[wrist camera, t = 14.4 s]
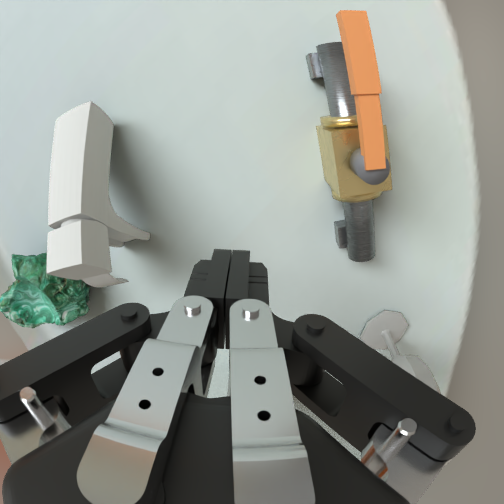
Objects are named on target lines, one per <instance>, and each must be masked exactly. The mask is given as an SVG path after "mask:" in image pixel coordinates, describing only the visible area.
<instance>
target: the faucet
mask: <svg viewBox="0 0 504 504" xmlns="http://www.w3.org/2000/svg"><path fill="white" fill-rule="evenodd" d="M113 129H114V124H113V122H112V121H111V119H110V118H109V117H108V115H107V114H106V113H105V112H104V111H103V110H102V109H101V108H99V107H98V106H97V105H96V104H94V103H93V102H92V101H90V102H87V103H84V104H82V105H79V106H77V107H75V108H73V109H71V110H69V111H68V112H66V113H64V114H63V115H61V116H60V117H59V118H58V119H56V123H55V130H54V138H53V146H52V156H51V167H50V182H49V208H48V226H50V227H52V228H54V229H55V230H53V231H51V232H48V240H47V273H46V274H49V275H53V276H57V277H61V278H67V279H73V280H80V279H81V280H83V281H84V282H85V283H87V284H89V285H91V286H93V287H106V286H110V285H115V284H120V283H125V282H129V281H128V280H126V279H122V278H114V277H112V276H111V275H110V274H109V273H110V272H112V268H111V259H110V250H109V246H112V247H122V246H123V245H124V242H127V241H131V240H135V239H140V240H149V239H150V233H148V232H145V231H142V230H140V229H138V228H136V227H134V226H132V225H131V224H129V223H128V222H126V221H125V220H123V219H122V218H121V217H119V216H118V215H117V214H116V213H115V211H114V209H113V207H112V205H111V202H110V198H109V173H110V159H111V148H112V138H113Z"/></svg>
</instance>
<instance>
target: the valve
mask: <svg viewBox="0 0 504 504" xmlns="http://www.w3.org/2000/svg"><path fill="white" fill-rule="evenodd" d="M316 48H317V53H310V54H308V55H307V56H306V60H307V64H308V69H309V73H310V78H311V79H315V78H323V79H324V84H325V89H326V94H327V99H328V105H329V110H330V115H329V116H324V117H321V118H320V120H321V125H320V126H316V129H317V135H318V140H319V146H320V152H321V158H322V164H323V171H324V178H325V180H326V182H327V183H328V184H329V185H330V186H331V189H332V197H333V198H334V199H336V200H338V201H342V202H343V206H344V215H345V220H341V221H335V222H334V226H335V235H336V242H337V244H338V246H339V248H346V247H347V248H348V257H349V259H351V260H353V261H356V262H365V261H369V260H371V259H373V258H374V256H375V236H374V217H373V202H372V200H373V199H375V198H377V197H379V196H380V195H381V193H382V191H387V190H392V181H391V168H390V172H389V175H388V177H387V179H386V180H385V181H384V182H382V183H380V184H378V185H370V184H368V183H366V182H365V181H363V180H362V179H361V178H360V177H358V176H357V175H356V174H355V173H354V172H353V171H352V170H351V167H350V157H351V155H352V153H353V152H354V151H355V150H356V149H358V148H360V139H359V130H358V121H357V113H356V106H355V99H354V95H351V90H350V84H349V78H348V72H347V66H346V60H345V55H344V50H343V45H342V42H333V43H326V44H321V45H318V46H316ZM383 135H384V147H385V156H386V157H387V159H388V161H389V164H390V157H389V147H388V138H387V130H386V125H383Z"/></svg>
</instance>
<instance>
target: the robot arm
mask: <svg viewBox="0 0 504 504" xmlns="http://www.w3.org/2000/svg"><path fill="white" fill-rule="evenodd" d="M249 259H250V251H245V250H233V252H232V250H224V249H214V252H213V256H212V259H211V260H200V261H199V262H198V263H197V264H196V265H194V268H193V271H192V274H191V277H190V280H189V282H188V285H187V288H186V291H185V294H184V297H183V298H180V299H178V300H177V301H176V302H175V303H174V304H173V306H172V308H171V310H170V311H169V312H165V313H158V314H150V313H149V310H148V308H147V307H146V306H144V305H142V304H139V303H126V304H122V305H120V306H118V307H116V308H114V309H112V310H110V311H108V312H106V313H104V314H102V315H100V316H98V317H96V318H94V319H92V320H90V321H87V322H85V323H83V324H81V325H79V326H77V327H75V328H73V329H71V330H69V331H67V332H65V333H63V334H61V335H59V336H57V337H56V338H54V339H52V340H50V341H48V342H46V343H44V344H42V345H40V346H38V347H36V348H34V349H32V350H30V351H28V352H26V353H24V354H22V355H20V356H18V357H16V358H14V359H12V360H10V361H8V362H6V363H4V364H2V365H0V439H1V441H2V443H3V446H4V448H5V450H6V453H7V455H8V457H9V459H10V462H11V464H12V465H11V467H10V468H9V469H8V471H7V473H6V475H5V478H4V481H3V486H2V495H3V502H4V504H416V503H417V502H418V500H419V499H420V498H421V497H422V495H423V494H424V493H425V491H426V490H427V489H428V487H429V486H430V485H431V483H432V482H433V481H434V479H435V478H436V476H437V475H438V473H439V472H440V470H441V469H442V468H443V467H444V466H445V465H446V464H447V463H448V462H449V461H451V460H452V459H453V458H454V457H455V456H456V455H457V454H458V453H459V452H460V451H461V450H462V449H463V448H464V447H465V446H466V445H467V444H468V443H469V442H470V441H471V440H472V439H473V437H474V435H475V430H476V427H475V422H474V420H473V418H472V416H471V415H470V414H469V413H468V412H467V411H466V410H464V409H463V408H461V407H460V406H458V405H457V404H455V403H453V402H452V401H451V400H449V399H447V398H446V397H444V396H443V395H441V394H440V393H438V392H437V391H435V390H434V389H432V388H431V387H429V386H428V385H426V384H425V383H423V382H422V381H420V380H419V379H417V378H416V377H414V376H413V375H411V374H410V373H408V372H407V371H405V370H404V369H402V368H401V367H399V366H398V365H396V364H395V363H393V362H392V361H390V360H389V359H387V358H386V357H384V356H383V355H381V354H380V353H378V352H377V351H375V350H374V349H372V348H371V347H369V346H368V345H367V344H365V343H364V342H362V341H361V340H359V339H358V338H356V337H355V336H353V335H352V334H350V333H349V332H347V331H346V330H344V329H343V328H341V327H340V326H338V325H337V324H336V323H334V322H333V321H331V320H330V319H328V318H326V317H324V316H321V315H317V314H307V315H303V316H301V317H299V318H298V319H296V321H295V323H294V322H290V321H286V320H283V319H281V318H279V317H277V316H276V315H274V314H273V313H272V311H271V308H270V307H269V293H268V275H267V268H266V267H265V266H264V265H263V264H262V263H256V262H249ZM225 335H226V349H229V382H228V393H227V397H219V398H207V395H208V391H209V387H210V383H211V379H212V375H213V371H214V367H215V357H216V354H217V348H219V349H224V343H225ZM118 351H120V355H121V358H119V359H117V360H116V361H114V362H112V363H110V364H109V365H107V366H105V367H103V368H102V369H100V370H98V371H96V372H95V373H93V374H91V370H92V368H93V366H94V365H95V364H97V363H98V362H100V361H102V360H104V359H105V358H107V357H109V356H111V355H113V354H114V353H116V352H118ZM325 370H326V371H327V372H328V373H330V374H331V375H332V376H333V377H335V378H336V379H337V380H339V381H340V382H341V383H342V384H343V385H342V384H341V383H340V382H339V381H337V380H336V379H335V378H333V377H332V376H331V375H330V374H328V373H327V372H326V371H325ZM292 394H293V395H294V396H295V397H296V398H297V399H298V400H299V401H300V402H302V403H303V404H304V405H305V406H306V407H307V408H308V409H310V410H311V411H312V412H313V413H314V414H315V415H317V416H318V417H319V418H320V419H321V420H322V421H324V422H325V423H326V424H327V425H328V426H329V427H331V428H332V429H333V430H334V431H335V432H337V433H338V434H339V435H340V436H341V437H343V438H344V439H345V440H346V441H348V442H349V443H350V444H351V445H352V446H354V447H355V448H356V449H357V450H359V451H360V452H361V461H359V460H358V459H357V458H356V457H355V456H354V455H352V454H351V453H350V452H349V451H348V450H347V449H346V448H344V447H343V446H342V445H341V444H340V443H339V442H338V441H337V440H335V439H334V438H333V437H332V436H331V435H330V434H329V433H328V432H327V431H326V430H324V429H323V428H322V427H321V426H320V425H319V424H318V423H317V422H316V421H315V420H313V419H312V418H311V417H309V416H308V415H306V414H304V413H303V412H301V411H299V410H296V409H295V407H294V402H293V396H292Z"/></svg>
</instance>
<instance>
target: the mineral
mask: <svg viewBox="0 0 504 504" xmlns="http://www.w3.org/2000/svg"><path fill="white" fill-rule="evenodd" d="M12 269H13V272H14V277H15V279H16V281H15V282H13V285H11V286H9V287H8V290H7V291H6V292H5V293H3V294H2V295H1V297H0V311H1V312H2V313H3V314H4V315H5V317H6V318H8V319H10V320H11V321H13V322H15V323H17V324H18V325H20V326H22V327H29V328H35V327H37V326H39V325H41V324H45V323H52V324H53V323H56V324H57V325H65V324H66V323H68V322H71V321H73V320H75V319H76V318H77V317H79V316H83V315H85V314H86V313H87V312H88V310H89V307H88V306H87V304H86V302H88V301H89V297H88V295H89V289H90V287H89V286H88V285H86V284H85V282H84V281H83V280H81V279H80V280H73V279H67V278H61V277H57V276H53V275H49V274H46V273H47V253H42V254H39V255H37V256H35V255H29V256H23V255H15V254H13V255H12Z"/></svg>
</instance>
